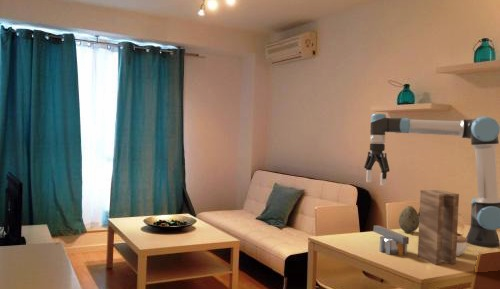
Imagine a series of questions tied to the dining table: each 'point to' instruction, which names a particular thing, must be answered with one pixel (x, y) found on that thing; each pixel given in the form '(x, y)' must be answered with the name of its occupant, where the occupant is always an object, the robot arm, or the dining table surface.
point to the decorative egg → (409, 219)
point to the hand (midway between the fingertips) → (375, 183)
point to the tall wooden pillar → (438, 226)
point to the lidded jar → (461, 245)
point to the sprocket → (392, 246)
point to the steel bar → (391, 234)
